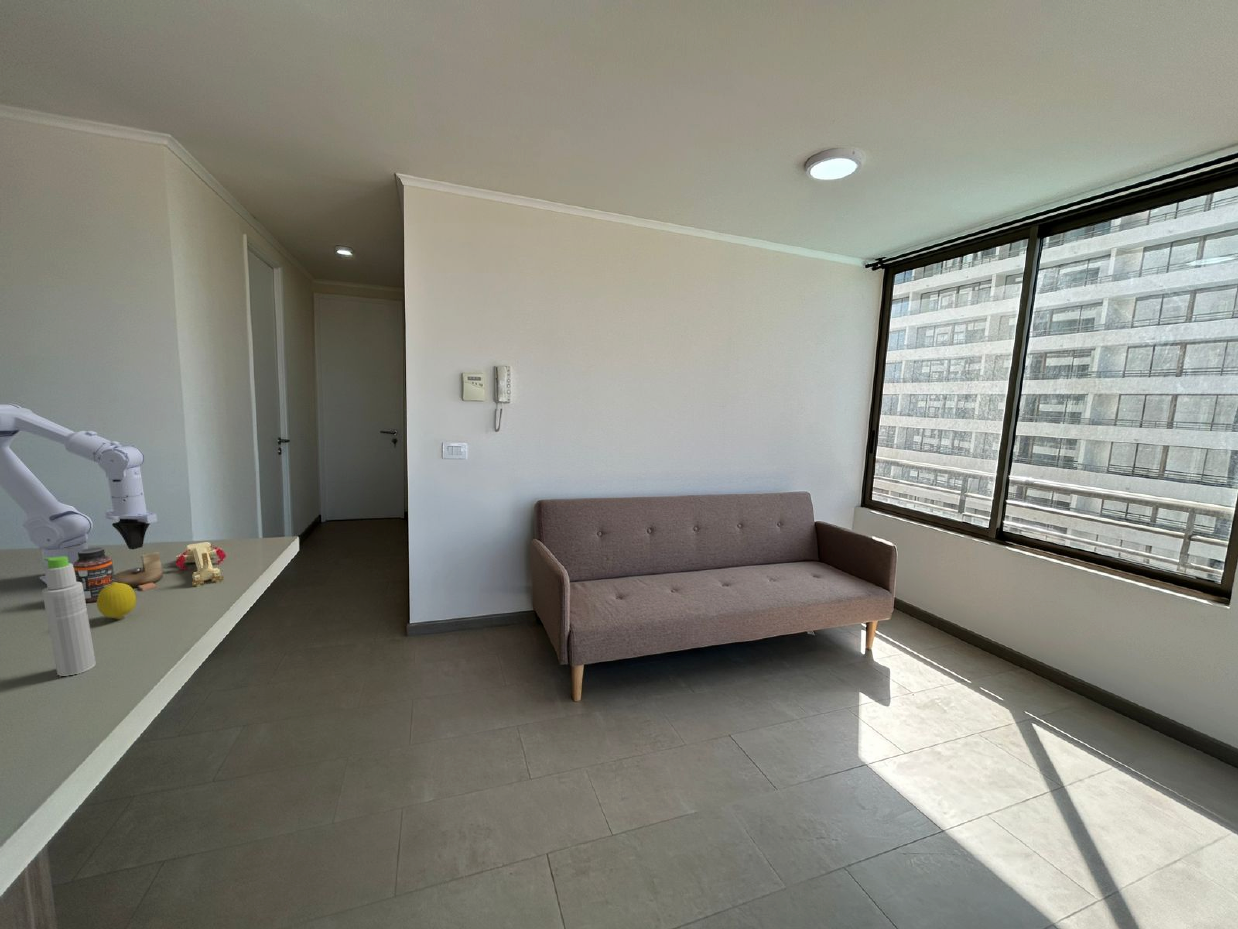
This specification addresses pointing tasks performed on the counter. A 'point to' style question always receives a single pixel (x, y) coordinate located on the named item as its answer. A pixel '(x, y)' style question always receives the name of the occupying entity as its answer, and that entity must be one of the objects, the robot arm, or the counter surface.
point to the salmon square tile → (147, 586)
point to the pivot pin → (136, 570)
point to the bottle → (67, 618)
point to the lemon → (116, 600)
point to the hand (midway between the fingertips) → (135, 548)
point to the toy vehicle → (202, 562)
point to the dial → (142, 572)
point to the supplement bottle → (93, 572)
